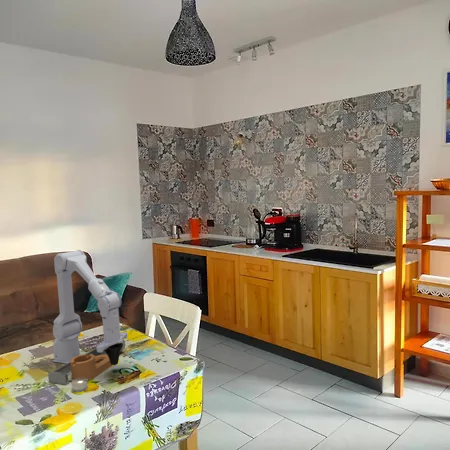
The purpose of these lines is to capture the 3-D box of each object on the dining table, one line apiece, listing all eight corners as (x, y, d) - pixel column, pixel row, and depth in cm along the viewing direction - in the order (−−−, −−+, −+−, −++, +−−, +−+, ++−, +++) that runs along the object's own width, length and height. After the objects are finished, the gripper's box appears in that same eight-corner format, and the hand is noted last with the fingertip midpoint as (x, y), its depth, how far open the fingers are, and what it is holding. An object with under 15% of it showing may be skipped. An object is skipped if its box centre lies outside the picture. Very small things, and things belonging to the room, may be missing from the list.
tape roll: (69, 391, 135) (68, 382, 135) (79, 384, 140) (79, 375, 139) (80, 393, 133) (79, 384, 133) (91, 386, 138) (90, 377, 137)
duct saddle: (48, 382, 143) (47, 363, 142) (106, 349, 170) (105, 334, 170) (70, 386, 139) (68, 367, 138) (125, 352, 166) (124, 336, 166)
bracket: (86, 383, 140) (84, 364, 139) (66, 381, 143) (65, 362, 142) (117, 362, 157) (115, 345, 156) (99, 360, 160) (97, 343, 159)
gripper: (106, 335, 137) (110, 374, 138) (133, 321, 150) (135, 357, 151) (90, 333, 140) (93, 371, 141) (117, 320, 153) (120, 355, 154)
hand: (114, 364), depth 146 cm, fingers closed
